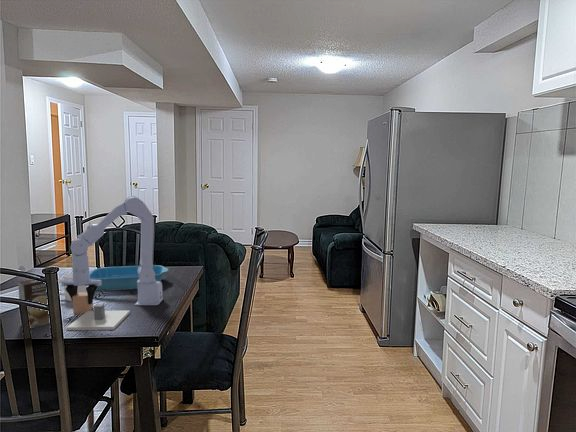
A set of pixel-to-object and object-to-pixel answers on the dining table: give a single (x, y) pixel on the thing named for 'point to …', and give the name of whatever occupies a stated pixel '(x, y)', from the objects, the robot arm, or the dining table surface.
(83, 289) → the mug
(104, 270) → the casserole dish
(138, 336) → the dining table surface
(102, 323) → the white board
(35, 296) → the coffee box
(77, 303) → the tan rectangular block
